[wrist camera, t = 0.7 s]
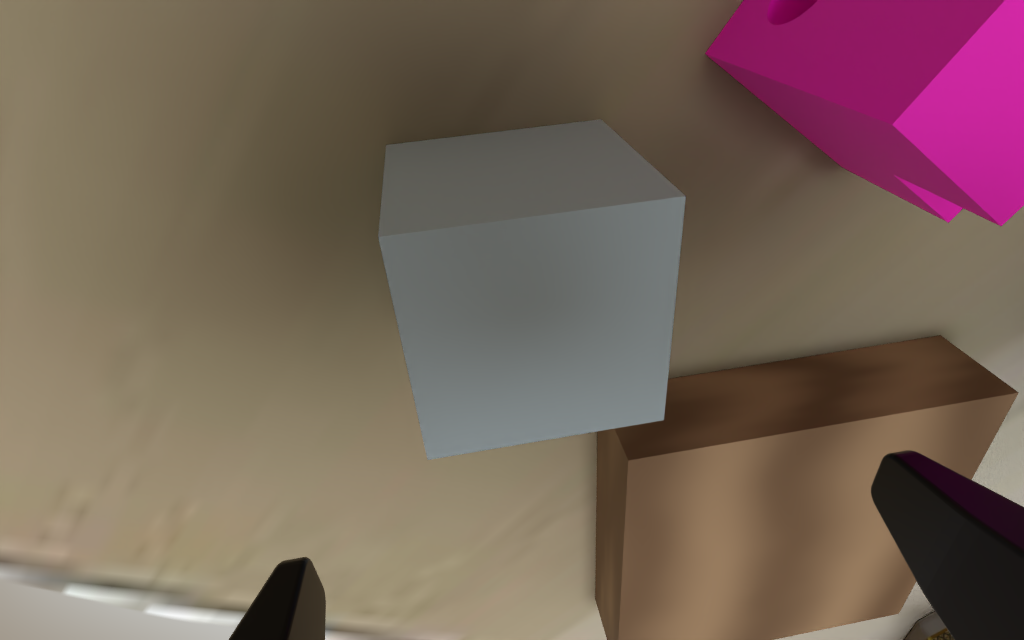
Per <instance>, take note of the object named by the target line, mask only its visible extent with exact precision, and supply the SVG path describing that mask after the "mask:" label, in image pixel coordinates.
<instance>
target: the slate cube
mask: <svg viewBox="0 0 1024 640" xmlns="http://www.w3.org/2000/svg"><path fill="white" fill-rule="evenodd" d="M685 199H686V196H685V195H684V194H683V193H682V192H681V191H680V190H679V189H677V188H676V187H675V186H674V185H673V184H672V183H671V182H670V181H669V180H667V179H666V178H665V177H664V176H663V175H662V174H661V173H660V172H659V171H658V170H656V169H655V168H654V167H653V166H652V165H651V164H650V163H649V162H648V161H646V160H645V159H644V158H643V157H642V156H641V155H640V154H639V153H638V152H637V151H635V150H634V149H633V148H632V147H631V146H630V145H629V144H628V143H627V142H626V141H624V140H623V139H622V138H621V137H620V136H619V135H618V134H617V133H616V132H614V131H613V130H612V129H611V128H610V127H609V126H608V125H607V124H606V123H605V122H603V121H602V120H601V119H600V120H591V121H583V122H574V123H566V124H558V125H549V126H541V127H533V128H524V129H516V130H507V131H499V132H491V133H482V134H474V135H465V136H457V137H449V138H440V139H432V140H424V141H415V142H407V143H398V144H390V145H386V153H385V164H384V176H383V187H382V199H381V210H380V222H379V233H378V239H379V243H380V248H381V252H382V257H383V261H384V266H385V270H386V275H387V279H388V284H389V288H390V293H391V297H392V302H393V306H394V311H395V315H396V320H397V324H398V329H399V333H400V338H401V342H402V347H403V351H404V356H405V360H406V365H407V369H408V374H409V378H410V383H411V387H412V392H413V396H414V401H415V405H416V410H417V414H418V419H419V423H420V428H421V432H422V437H423V441H424V446H425V450H426V455H427V459H428V460H430V459H436V458H442V457H448V456H454V455H460V454H466V453H472V452H478V451H484V450H490V449H496V448H501V447H507V446H513V445H519V444H525V443H531V442H537V441H543V440H549V439H555V438H561V437H567V436H573V435H579V434H585V433H591V432H597V431H603V430H609V429H615V428H620V427H626V426H632V425H638V424H644V423H650V422H656V421H662V420H664V414H665V404H666V393H667V383H668V373H669V363H670V353H671V342H672V332H673V322H674V312H675V302H676V291H677V281H678V271H679V261H680V250H681V240H682V230H683V220H684V210H685Z"/></svg>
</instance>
